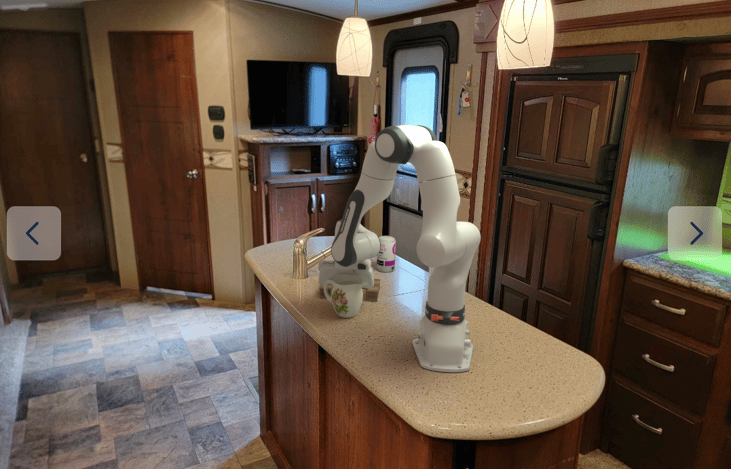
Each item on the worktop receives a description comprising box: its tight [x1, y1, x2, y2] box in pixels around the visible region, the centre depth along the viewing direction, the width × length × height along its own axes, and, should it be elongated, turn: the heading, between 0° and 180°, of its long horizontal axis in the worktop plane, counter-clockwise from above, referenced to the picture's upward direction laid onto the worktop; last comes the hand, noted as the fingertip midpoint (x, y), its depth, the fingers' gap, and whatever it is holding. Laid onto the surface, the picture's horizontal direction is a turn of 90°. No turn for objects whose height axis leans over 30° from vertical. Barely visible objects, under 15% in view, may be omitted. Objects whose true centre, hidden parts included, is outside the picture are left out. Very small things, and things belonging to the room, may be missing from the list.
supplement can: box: [376, 235, 397, 273], centre depth 218 cm, size 8×8×15 cm
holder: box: [319, 278, 381, 303], centre depth 191 cm, size 14×22×4 cm, turn 84°
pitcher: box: [324, 274, 368, 319], centre depth 171 cm, size 11×18×14 cm, turn 58°
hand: (345, 297), depth 178 cm, fingers closed
